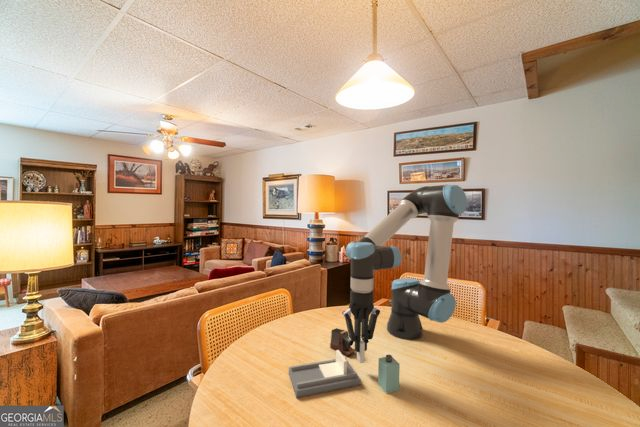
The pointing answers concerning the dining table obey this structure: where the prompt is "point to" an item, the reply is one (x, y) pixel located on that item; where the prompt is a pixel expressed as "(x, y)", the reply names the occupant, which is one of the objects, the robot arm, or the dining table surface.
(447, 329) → the dining table surface
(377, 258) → the robot arm
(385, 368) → the teal bottle
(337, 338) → the electronic device
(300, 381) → the socket board
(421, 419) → the dining table surface
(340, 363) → the shutter
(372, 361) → the dining table surface
